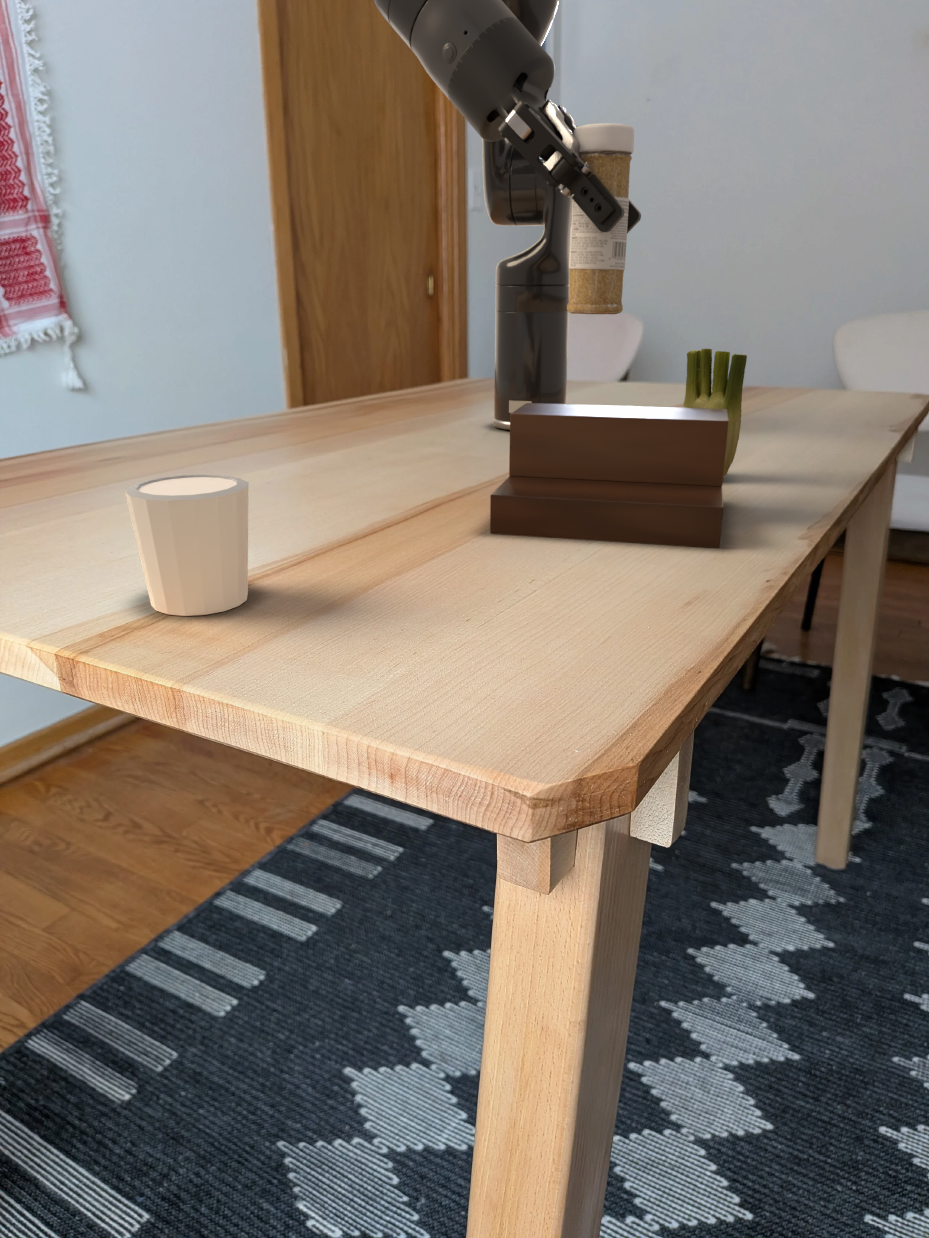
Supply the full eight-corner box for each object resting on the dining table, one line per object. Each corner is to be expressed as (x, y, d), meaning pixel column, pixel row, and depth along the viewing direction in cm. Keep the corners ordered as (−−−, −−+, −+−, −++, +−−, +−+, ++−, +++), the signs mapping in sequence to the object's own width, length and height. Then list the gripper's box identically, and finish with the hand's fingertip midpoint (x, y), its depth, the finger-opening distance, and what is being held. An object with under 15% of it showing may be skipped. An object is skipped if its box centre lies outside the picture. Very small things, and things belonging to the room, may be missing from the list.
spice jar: (593, 312, 76) (602, 132, 72) (634, 314, 73) (647, 125, 68) (554, 313, 74) (561, 126, 69) (595, 315, 70) (605, 119, 66)
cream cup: (163, 581, 58) (149, 472, 56) (270, 582, 58) (261, 473, 55) (121, 619, 52) (104, 497, 49) (242, 620, 51) (230, 498, 49)
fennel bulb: (741, 481, 86) (755, 350, 82) (697, 485, 85) (709, 351, 81) (705, 470, 91) (717, 346, 87) (663, 474, 90) (673, 347, 86)
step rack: (524, 494, 82) (526, 402, 79) (717, 504, 78) (726, 409, 75) (489, 533, 69) (490, 426, 66) (719, 548, 65) (730, 435, 62)
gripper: (476, -10, 63) (636, 177, 62) (546, 37, 75) (681, 194, 75) (409, 84, 67) (560, 261, 66) (486, 114, 79) (614, 263, 78)
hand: (623, 224), depth 70 cm, fingers closed on spice jar, 4 cm apart
